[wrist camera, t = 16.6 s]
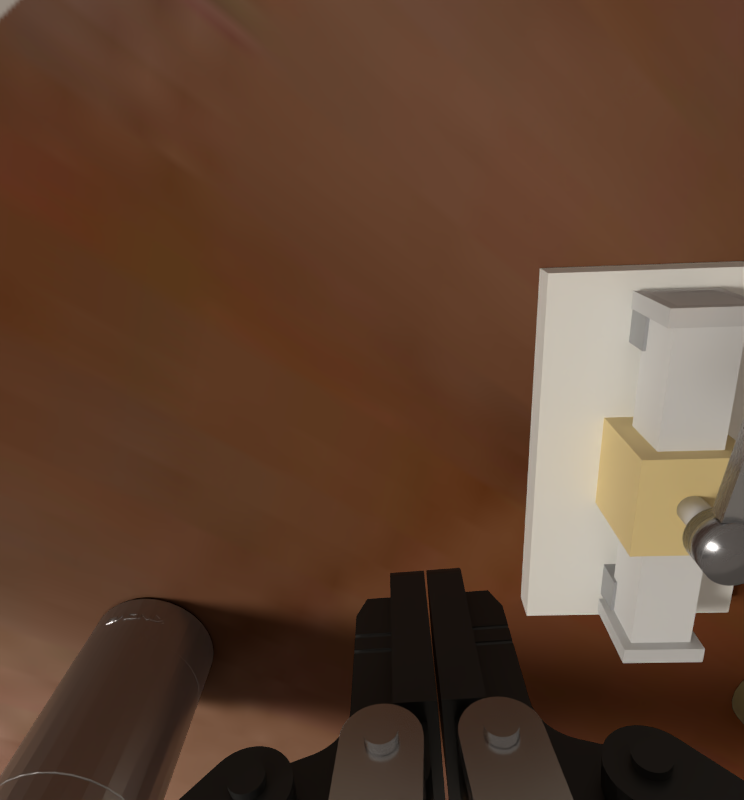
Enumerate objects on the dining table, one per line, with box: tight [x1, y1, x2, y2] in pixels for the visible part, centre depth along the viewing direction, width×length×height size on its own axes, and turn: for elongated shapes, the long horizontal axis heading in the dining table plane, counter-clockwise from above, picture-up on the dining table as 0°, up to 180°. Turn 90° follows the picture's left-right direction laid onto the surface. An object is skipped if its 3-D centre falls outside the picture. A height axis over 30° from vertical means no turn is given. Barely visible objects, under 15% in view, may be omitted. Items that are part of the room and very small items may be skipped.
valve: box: [521, 261, 744, 663], centre depth 36 cm, size 24×14×10 cm, turn 2°
